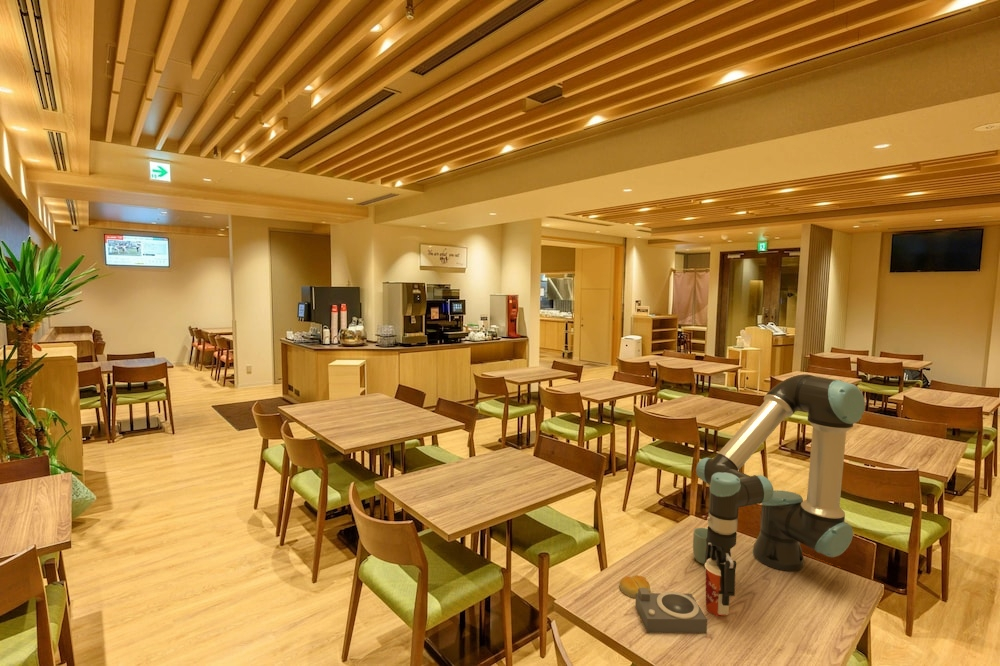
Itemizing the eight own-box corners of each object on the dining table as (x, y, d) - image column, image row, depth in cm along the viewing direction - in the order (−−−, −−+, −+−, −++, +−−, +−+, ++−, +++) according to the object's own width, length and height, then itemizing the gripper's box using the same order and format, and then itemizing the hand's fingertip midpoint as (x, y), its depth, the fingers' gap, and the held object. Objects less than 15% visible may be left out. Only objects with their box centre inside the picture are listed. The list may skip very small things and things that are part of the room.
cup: (712, 555, 171) (714, 528, 170) (720, 568, 163) (722, 539, 162) (689, 554, 172) (690, 526, 171) (695, 567, 164) (697, 538, 163)
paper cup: (705, 617, 140) (708, 570, 138) (699, 600, 147) (702, 555, 146) (735, 620, 138) (738, 573, 137) (727, 603, 146) (730, 558, 144)
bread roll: (615, 584, 155) (616, 572, 154) (642, 581, 156) (643, 569, 156) (626, 601, 146) (627, 588, 146) (655, 598, 148) (655, 585, 148)
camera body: (690, 606, 144) (691, 587, 143) (706, 633, 133) (707, 612, 132) (635, 606, 144) (636, 586, 143) (647, 632, 133) (648, 611, 132)
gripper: (694, 512, 150) (690, 584, 152) (724, 547, 130) (719, 629, 133) (719, 512, 150) (715, 584, 152) (753, 547, 130) (747, 629, 133)
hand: (717, 605), depth 142 cm, fingers closed on paper cup, 7 cm apart
